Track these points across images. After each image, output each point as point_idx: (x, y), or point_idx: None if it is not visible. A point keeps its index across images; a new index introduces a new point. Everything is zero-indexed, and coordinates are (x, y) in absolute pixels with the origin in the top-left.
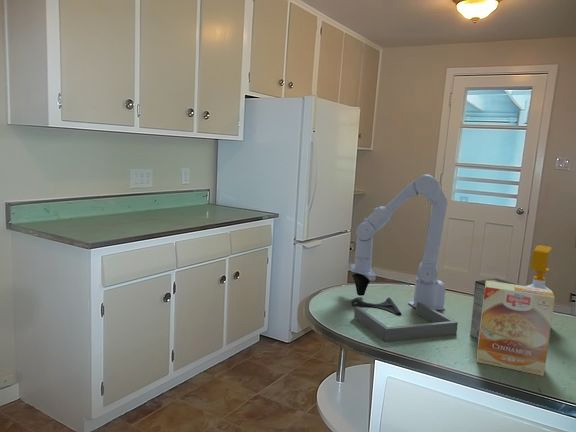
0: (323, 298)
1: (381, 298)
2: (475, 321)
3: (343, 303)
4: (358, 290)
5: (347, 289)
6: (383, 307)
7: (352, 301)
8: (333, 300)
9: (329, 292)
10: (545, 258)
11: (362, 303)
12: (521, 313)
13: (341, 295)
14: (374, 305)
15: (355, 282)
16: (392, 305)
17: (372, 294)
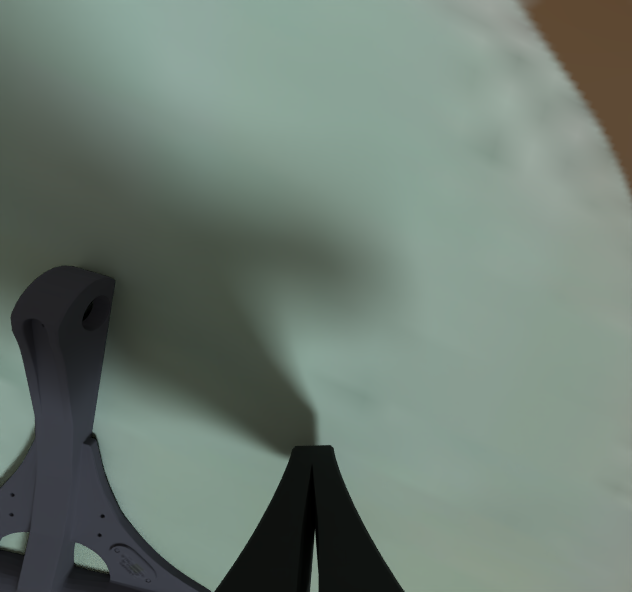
0: (356, 30)
1: None
2: None
3: (159, 213)
4: (282, 485)
5: (568, 438)
6: (16, 509)
7: (47, 283)
8: (266, 137)
9: (545, 211)
10: None
11: (36, 374)
12: None
13: (412, 303)
14: (39, 463)
15: (360, 573)
16: (16, 587)
17: None
